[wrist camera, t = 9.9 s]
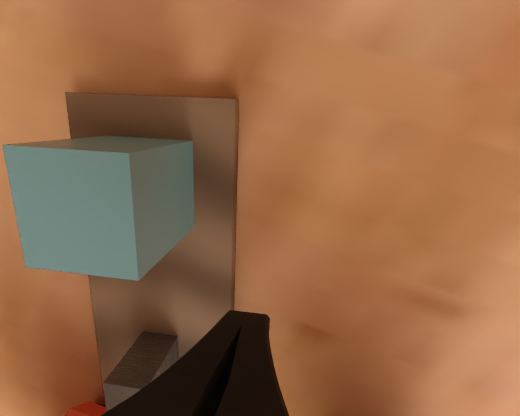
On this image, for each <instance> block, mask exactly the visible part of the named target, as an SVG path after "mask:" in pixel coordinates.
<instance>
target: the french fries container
mask: <svg viewBox="0 0 520 416" xmlns="http://www.w3.org/2000/svg"><path fill="white" fill-rule="evenodd" d="M105 412H106V407H104V406H101V405H98V404H96V403H93V402H88V403H85V404H82V405H79V406H76V407H73V408H71V409H70V410H69V411H68V412H67V414H66V415H65V416H101V415H102V414H104V413H105Z"/></svg>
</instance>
